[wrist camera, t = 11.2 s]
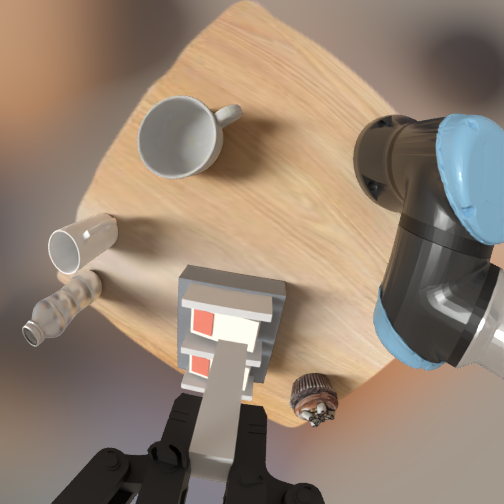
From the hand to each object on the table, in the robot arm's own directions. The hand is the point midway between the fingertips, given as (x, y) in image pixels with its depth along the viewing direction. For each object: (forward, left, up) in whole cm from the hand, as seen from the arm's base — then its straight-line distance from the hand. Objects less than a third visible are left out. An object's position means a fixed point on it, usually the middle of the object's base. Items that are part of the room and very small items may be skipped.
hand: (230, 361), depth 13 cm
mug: (+25, +4, -30) cm, 39 cm away
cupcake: (-17, +32, -30) cm, 47 cm away
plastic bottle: (+30, +16, -30) cm, 45 cm away
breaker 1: (+2, +14, -22) cm, 26 cm away
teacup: (+10, -12, -30) cm, 34 cm away
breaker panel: (+2, +18, -29) cm, 35 cm away
